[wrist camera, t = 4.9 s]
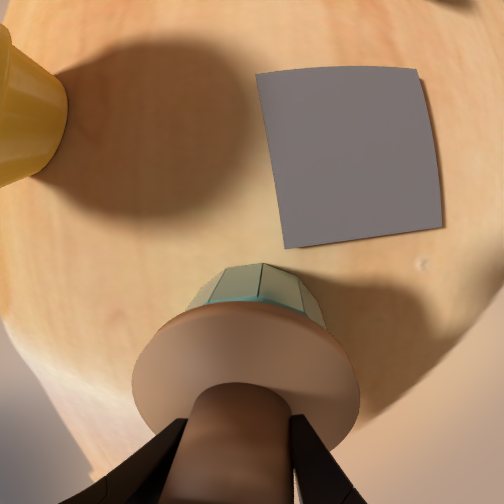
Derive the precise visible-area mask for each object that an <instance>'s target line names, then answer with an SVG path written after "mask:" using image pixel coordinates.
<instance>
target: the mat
mask: <svg viewBox="0 0 504 504" xmlns="http://www.w3.org/2000/svg"><path fill="white" fill-rule="evenodd" d="M255 75H256V80H257V85H258V90H259V96H260V101H261V106H262V112H263V117H264V123H265V128H266V134H267V139H268V145H269V151H270V157H271V163H272V169H273V175H274V181H275V187H276V193H277V200H278V206H279V213H280V219H281V226H282V233H283V240H284V247H285V249H290V248H298V247H305V246H312V245H319V244H326V243H333V242H340V241H347V240H354V239H361V238H368V237H375V236H382V235H389V234H396V233H403V232H410V231H417V230H424V229H431V228H438V227H442V213H441V197H440V186H439V176H438V168H437V160H436V153H435V147H434V141H433V135H432V130H431V125H430V120H429V115H428V111H427V107H426V102H425V98H424V94H423V91H422V87H421V83H420V80H419V76H418V73H417V70H416V69H410V68H397V67H377V66H337V67H317V68H304V69H293V70H284V71H276V72H268V73H261V74H255Z"/></svg>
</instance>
